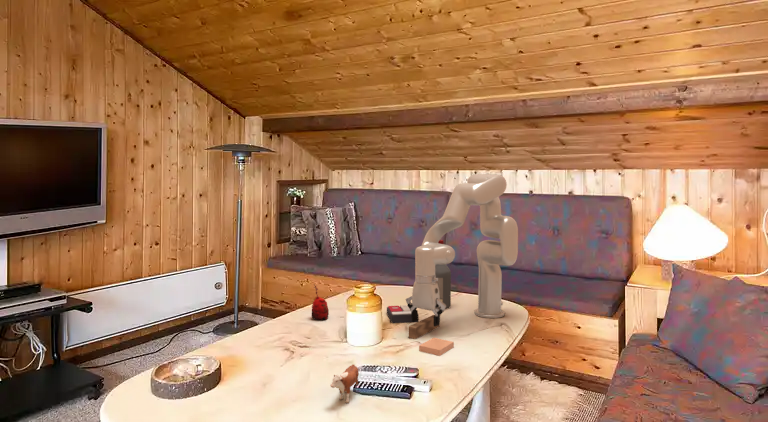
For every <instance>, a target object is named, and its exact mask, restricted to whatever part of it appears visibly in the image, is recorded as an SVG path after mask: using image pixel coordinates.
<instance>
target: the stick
mask: <svg viewBox="0 0 768 422" xmlns="http://www.w3.org/2000/svg"><path fill="white" fill-rule="evenodd" d="M434 316H435V314H432V315H430V316H428V317H425V318H423V319H421V320H419V322H414V323H413V324H411V325H409V326H408V338H409V339H412V340H417V339H419V338H421V337H423V336H425V335H427V334H429V333H431V332H432V331H434V330H436V329H438V328H440V326H441V323H440V324H439V325H438V326H436V327H435V326H434Z"/></svg>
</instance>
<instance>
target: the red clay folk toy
mask: <svg viewBox="0 0 768 422" xmlns="http://www.w3.org/2000/svg"><path fill="white" fill-rule="evenodd" d="M317 286H318V285H315V283H314V284H313V288H315V294H316V296H315V299H314V300H313V302H312V306H311V317H312V319H313V320H315V321H323V320H325V321H326V320H328V318H329V315H330V314H329V313H330V312H329V307H328V302H327V300H326V299H325V298H323V297H320V296H318V295H319V294H318V290H319V288H318V287H317Z"/></svg>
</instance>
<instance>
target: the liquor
mask: <svg viewBox="0 0 768 422" xmlns="http://www.w3.org/2000/svg"><path fill="white" fill-rule="evenodd" d="M438 243H439V244H444V245H445V243H444V240H443V239H440V240H439V242H438ZM435 275H436V278H438V281H436V282H435V283H437V284H438V288H439V295H440V301H441V302H443V303H444V304H445V305H446V308H445V310H448V309H450V308H451V305H452V304H451V303H452V301H451V297H452V295H451V292H452V291H451V290H452V289H451V288H452V285H451V284H452V271H451V269H450V268H449V267H448V264H436V265H435ZM440 308H441V306H440V307H439V310H440Z"/></svg>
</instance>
